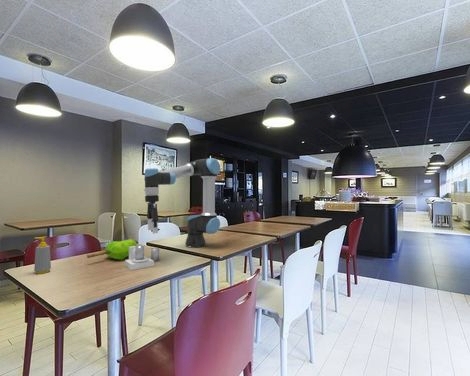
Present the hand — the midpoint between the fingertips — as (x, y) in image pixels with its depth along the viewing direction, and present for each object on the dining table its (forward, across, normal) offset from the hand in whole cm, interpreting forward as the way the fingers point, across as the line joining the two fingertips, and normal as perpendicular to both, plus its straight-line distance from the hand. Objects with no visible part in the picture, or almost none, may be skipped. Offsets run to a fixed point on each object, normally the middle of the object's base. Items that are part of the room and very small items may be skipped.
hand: (152, 231), depth 151 cm
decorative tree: (+18, -17, -20) cm, 32 cm away
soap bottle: (+17, -7, -53) cm, 56 cm away
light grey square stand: (+17, +5, -8) cm, 20 cm away
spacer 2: (+18, -2, +2) cm, 18 cm away
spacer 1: (+13, +6, -8) cm, 17 cm away
